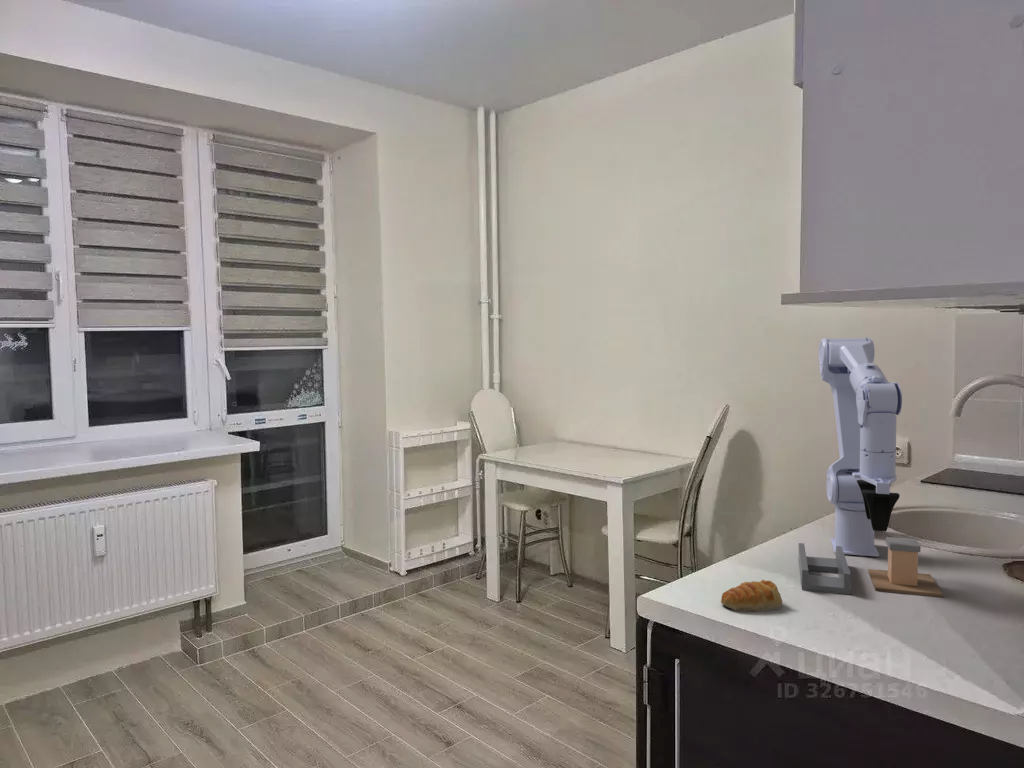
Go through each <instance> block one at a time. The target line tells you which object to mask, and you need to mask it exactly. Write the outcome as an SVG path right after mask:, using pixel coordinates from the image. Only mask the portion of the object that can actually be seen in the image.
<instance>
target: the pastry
mask: <svg viewBox="0 0 1024 768" xmlns="http://www.w3.org/2000/svg"><path fill="white" fill-rule="evenodd" d="M720 603H721V605H723V606H725V607H727V608H729V609H732V610H733V611H736V610H737V611H738V612H739V610H740V611H743V610H746V611H745V612H761V610H763V611H772V610H771V609H773V610H778V609H780V608H781V606H782V605H783V599H782V596H781V593H780V592H779V589H778V587H777V585H776V584H775V583H774V582H772V581H771V580H765V579H761V580H760V581H755V580H754V581H744V582H742V583H740V584H739V585H737V586H735V587H731V588H729V589H728V590H726V591H724V592H723V593H721V599H720ZM777 608H778V609H777ZM759 610H760V611H759Z"/></svg>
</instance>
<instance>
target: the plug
mask: <svg viewBox="0 0 1024 768" xmlns="http://www.w3.org/2000/svg"><path fill="white" fill-rule="evenodd" d="M885 544H886V545H887V571H888V578H889V580H890V582H891V584H901V585H913V586H917V580H918V571H919V570H918V568H919V553H921V549H922V547H921V545H920V544H919V542H918V541H917V539H916V538H906V537H904V538H903V537H892V536H891V537H890V536H886V537H885Z"/></svg>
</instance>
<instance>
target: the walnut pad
mask: <svg viewBox="0 0 1024 768" xmlns="http://www.w3.org/2000/svg"><path fill="white" fill-rule="evenodd" d="M867 573H868V575H869V577H870V581H871V583H872V586H873V588H874V590H875V592H876V591H877V592H884V593H886V592H887V593H894V594H895V593H897V594H906V595H918V596H927V597H936V598H937V597H940V598H943V597H944V594H943V592H942V591H941V589H940V587H939V586H938V584H937V582H936V581H935V580H934V578H933V577H932V575H931V574H930V573H920V572H919V573H918V580H917V586H913V585H901V584H891V582H890V580H889V578H888V570H885V569H884V570H882V569H873V568H872V569H870V568H868V569H867Z"/></svg>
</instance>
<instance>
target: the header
mask: <svg viewBox="0 0 1024 768" xmlns="http://www.w3.org/2000/svg"><path fill="white" fill-rule="evenodd" d="M797 558H798V568H799V577H800V586H801V590H802V591H811V592H823V593H833V594H843V595H851V581H852V580H851V578H852V577H851V576H852V574H851V571H850V568H849V565H848V561H847V559H846V558H847V557H846V554H844V552H843V549H842V546H836V553H835V558H831V557H819V556H807V552H806V546H805V543H803V542H802V543H801V542H798V557H797ZM809 571H813V572H825V573H833V574H835V573H836V574H838V577H837V576H827V575H826V576H825V575H814V574H809Z"/></svg>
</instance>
